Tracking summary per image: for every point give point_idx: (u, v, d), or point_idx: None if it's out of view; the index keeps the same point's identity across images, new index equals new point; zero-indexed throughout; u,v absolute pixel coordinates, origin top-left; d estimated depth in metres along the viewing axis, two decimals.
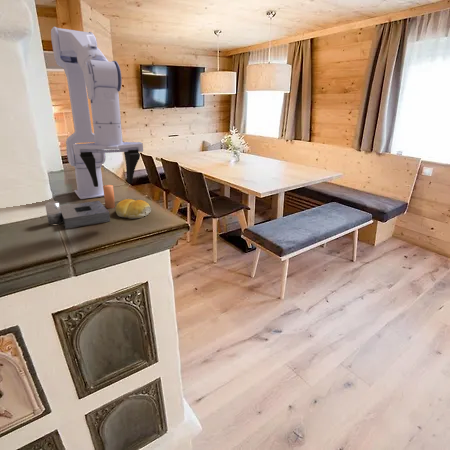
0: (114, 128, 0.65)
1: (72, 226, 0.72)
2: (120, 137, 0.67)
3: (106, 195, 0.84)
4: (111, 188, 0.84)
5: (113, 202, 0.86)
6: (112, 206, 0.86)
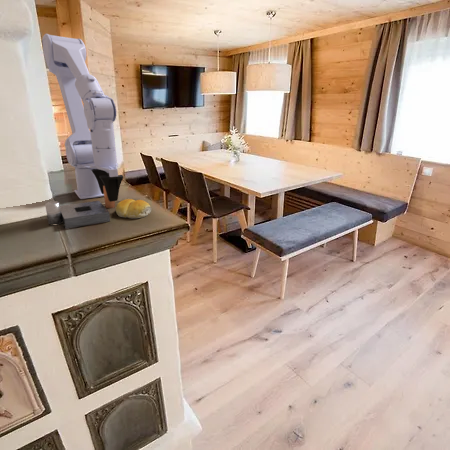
0: (94, 151, 0.79)
1: (72, 226, 0.72)
2: (99, 160, 0.79)
3: (106, 195, 0.84)
4: None
5: (113, 202, 0.86)
6: (112, 206, 0.86)
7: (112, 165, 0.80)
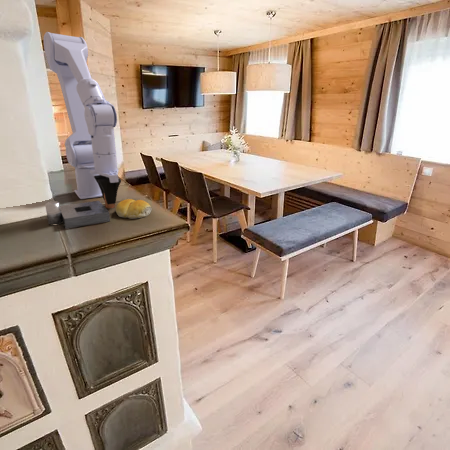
0: (94, 157, 0.79)
1: (72, 226, 0.72)
2: (100, 165, 0.79)
3: None
4: None
5: None
6: (112, 206, 0.86)
7: (112, 170, 0.81)
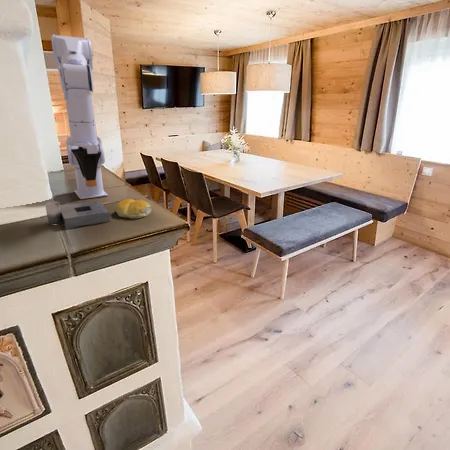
0: (70, 126, 0.70)
1: (72, 226, 0.72)
2: (77, 135, 0.70)
3: None
4: None
5: (95, 180, 0.77)
6: (94, 184, 0.77)
7: (91, 142, 0.72)
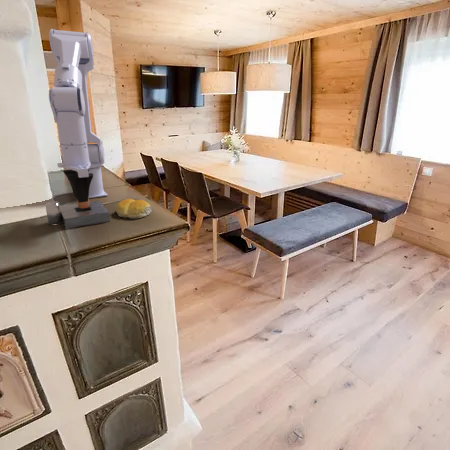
0: (62, 148, 0.69)
1: (72, 226, 0.72)
2: (68, 158, 0.69)
3: None
4: None
5: None
6: (86, 206, 0.76)
7: (83, 164, 0.71)
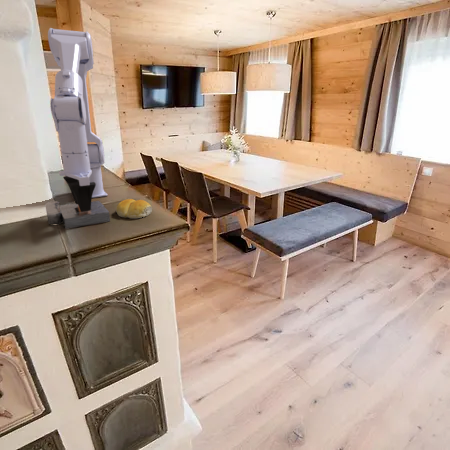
0: (63, 157, 0.70)
1: (72, 226, 0.72)
2: (69, 166, 0.70)
3: None
4: None
5: None
6: None
7: (84, 172, 0.72)
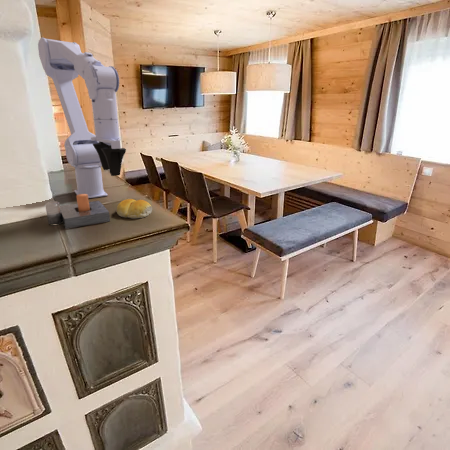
0: (95, 123, 0.76)
1: (72, 226, 0.72)
2: (101, 132, 0.76)
3: (80, 205, 0.75)
4: (86, 197, 0.75)
5: None
6: None
7: (114, 138, 0.77)
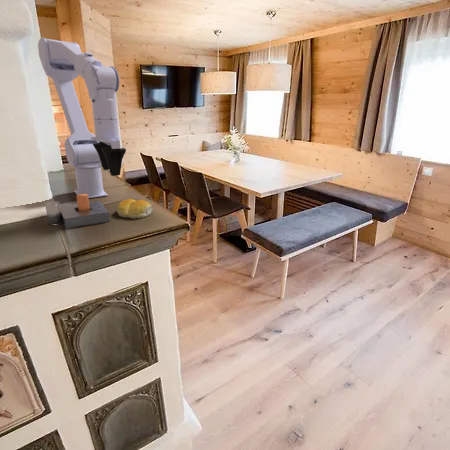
0: (96, 123, 0.76)
1: (72, 226, 0.72)
2: (101, 132, 0.76)
3: (81, 205, 0.75)
4: (86, 197, 0.75)
5: None
6: None
7: (114, 138, 0.77)
